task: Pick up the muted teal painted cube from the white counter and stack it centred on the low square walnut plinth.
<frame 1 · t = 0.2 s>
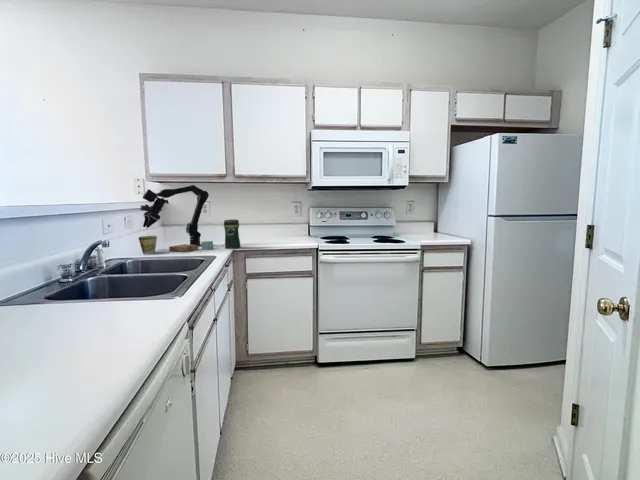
hand: (145, 227, 226), 15 cm above the counter, tool tilted 30°, fingers open, 9 cm apart
walnut plinth: (184, 250, 222), on the counter
ceramic cup: (149, 252, 216), on the counter
coffee jar: (232, 248, 229), on the counter
teal cube: (207, 249, 226), on the counter
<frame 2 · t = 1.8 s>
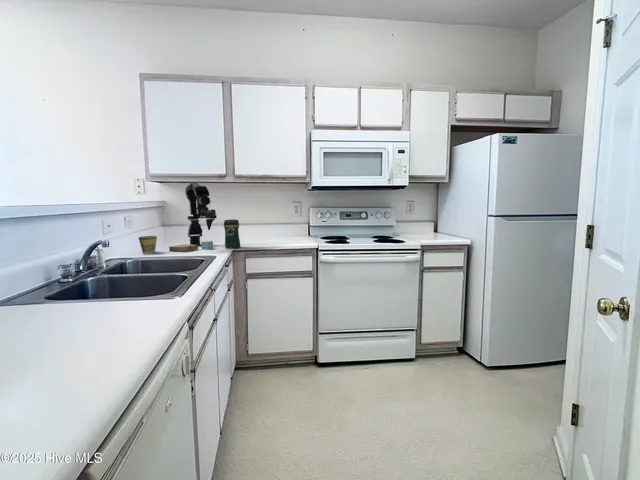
hand: (203, 230, 224), 12 cm above the counter, tool pointing down, fingers open, 9 cm apart
nothing on the counter moved.
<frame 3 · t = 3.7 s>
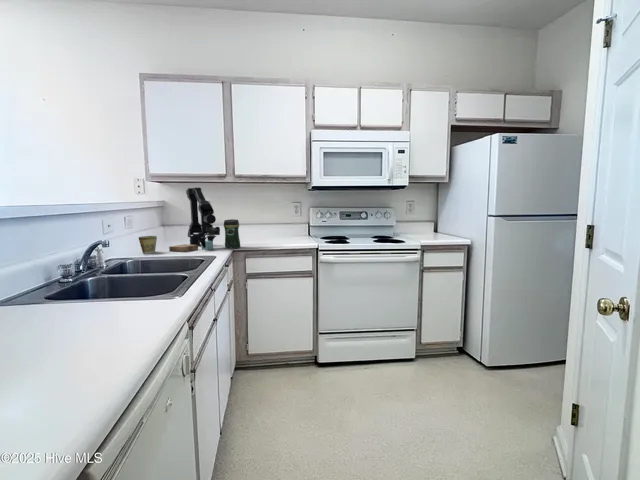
hand: (207, 247, 226), 1 cm above the counter, tool pointing down, fingers closed on teal cube, 5 cm apart
teal cube: (207, 249, 226), on the counter, touching gripper
everything else where it was.
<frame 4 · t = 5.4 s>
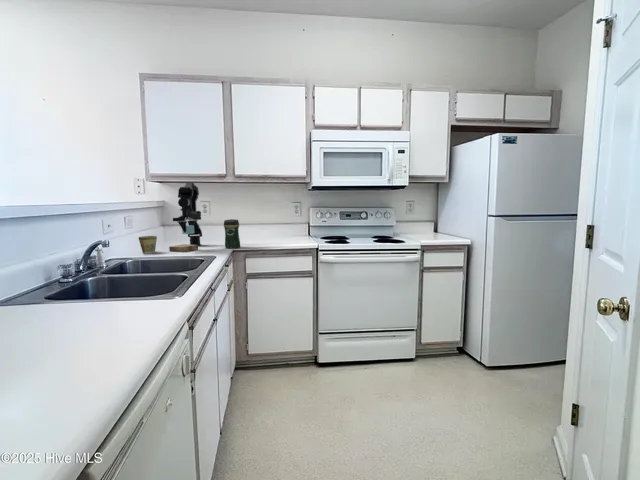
hand: (188, 232, 221), 12 cm above the counter, tool pointing down, fingers closed on teal cube, 5 cm apart
teal cube: (188, 233, 221), point 10 cm above the counter, touching gripper
everything else where it was.
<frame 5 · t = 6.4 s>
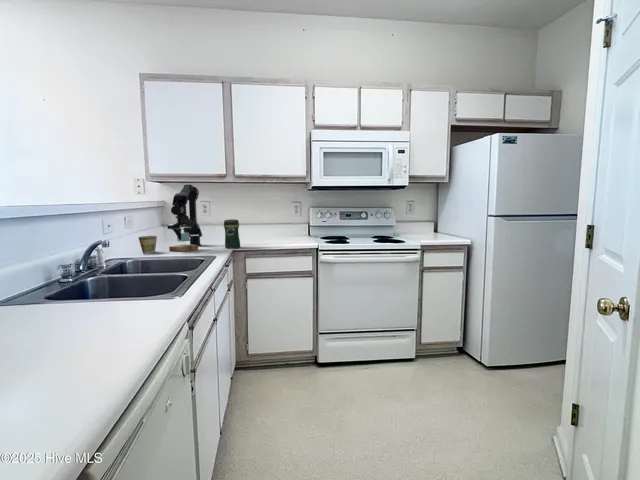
hand: (183, 239, 221), 7 cm above the counter, tool pointing down, fingers closed on teal cube, 5 cm apart
teal cube: (183, 241, 221), point 6 cm above the counter, touching gripper
everything else where it was.
when the fingers open (5 cm above the counter, at t = 7.1 s): teal cube drops 1 cm, resting on walnut plinth.
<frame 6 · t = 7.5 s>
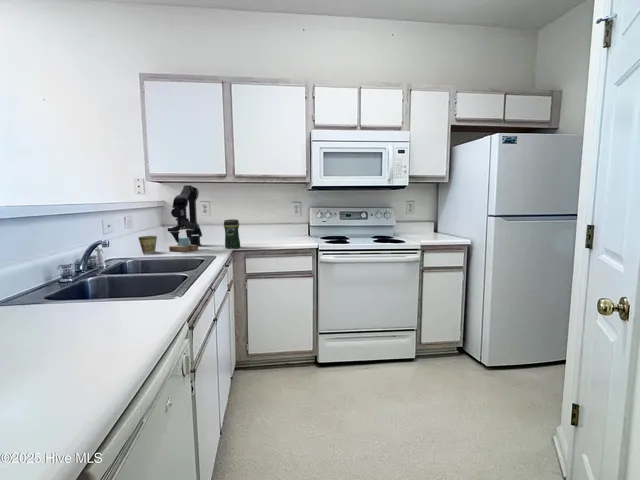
hand: (183, 241, 221), 5 cm above the counter, tool pointing down, fingers open, 9 cm apart
teal cube: (183, 245, 221), point 3 cm above the counter, touching walnut plinth
everything else where it was.
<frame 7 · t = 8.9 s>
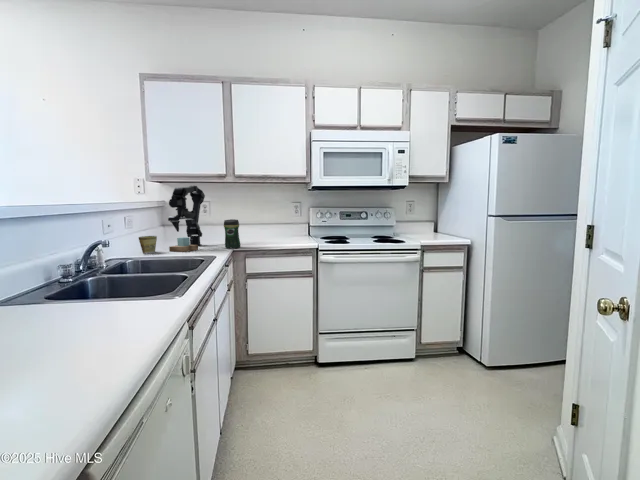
hand: (183, 230, 230), 12 cm above the counter, tool pointing down, fingers open, 9 cm apart
nothing on the counter moved.
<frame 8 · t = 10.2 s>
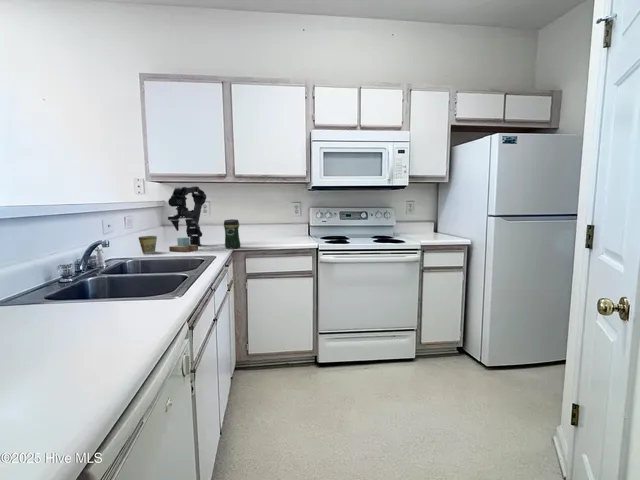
hand: (183, 230, 231), 12 cm above the counter, tool pointing down, fingers open, 9 cm apart
nothing on the counter moved.
at the end: teal cube inside the target area on the walnut plinth (0.0 cm from its centre), point 3.0 cm above the walnut plinth's base; teal cube tilted 0°; the gripper is holding nothing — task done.
